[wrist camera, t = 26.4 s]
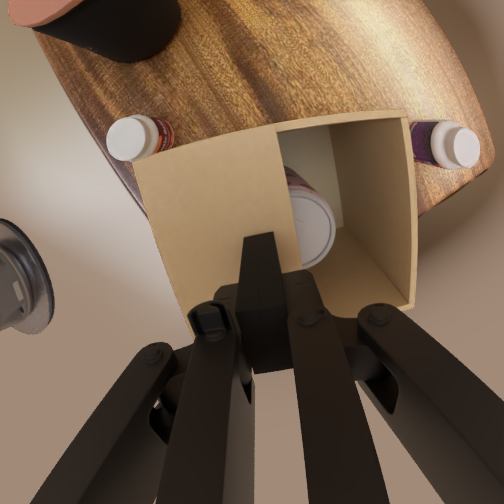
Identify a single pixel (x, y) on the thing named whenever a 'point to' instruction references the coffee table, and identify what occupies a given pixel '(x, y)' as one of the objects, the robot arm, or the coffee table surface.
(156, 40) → the coffee jar
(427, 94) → the coffee table surface
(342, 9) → the coffee table surface
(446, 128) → the pill bottle
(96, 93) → the coffee table surface
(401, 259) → the carton
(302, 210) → the beverage can
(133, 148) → the pill bottle
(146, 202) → the flap
